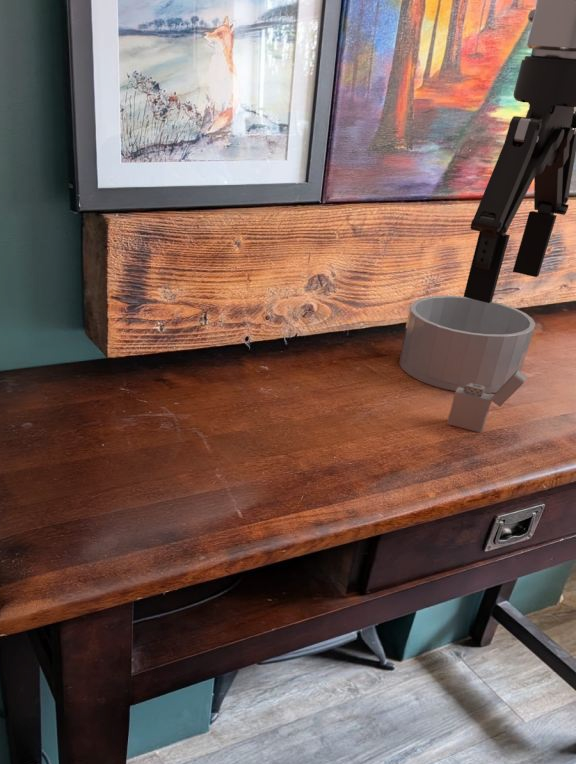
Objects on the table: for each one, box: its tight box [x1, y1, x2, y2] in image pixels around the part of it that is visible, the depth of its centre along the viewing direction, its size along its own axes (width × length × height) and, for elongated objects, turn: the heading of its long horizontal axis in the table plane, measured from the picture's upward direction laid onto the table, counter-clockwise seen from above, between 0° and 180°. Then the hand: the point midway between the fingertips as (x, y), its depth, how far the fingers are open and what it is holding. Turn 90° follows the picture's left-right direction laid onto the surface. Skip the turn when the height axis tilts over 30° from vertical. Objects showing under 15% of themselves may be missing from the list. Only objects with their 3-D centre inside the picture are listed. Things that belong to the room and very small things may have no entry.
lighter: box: [446, 370, 528, 433], centre depth 88 cm, size 7×2×8 cm, turn 61°
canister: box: [398, 295, 536, 394], centre depth 104 cm, size 16×16×8 cm
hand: (502, 286), depth 80 cm, fingers open, 13 cm apart
